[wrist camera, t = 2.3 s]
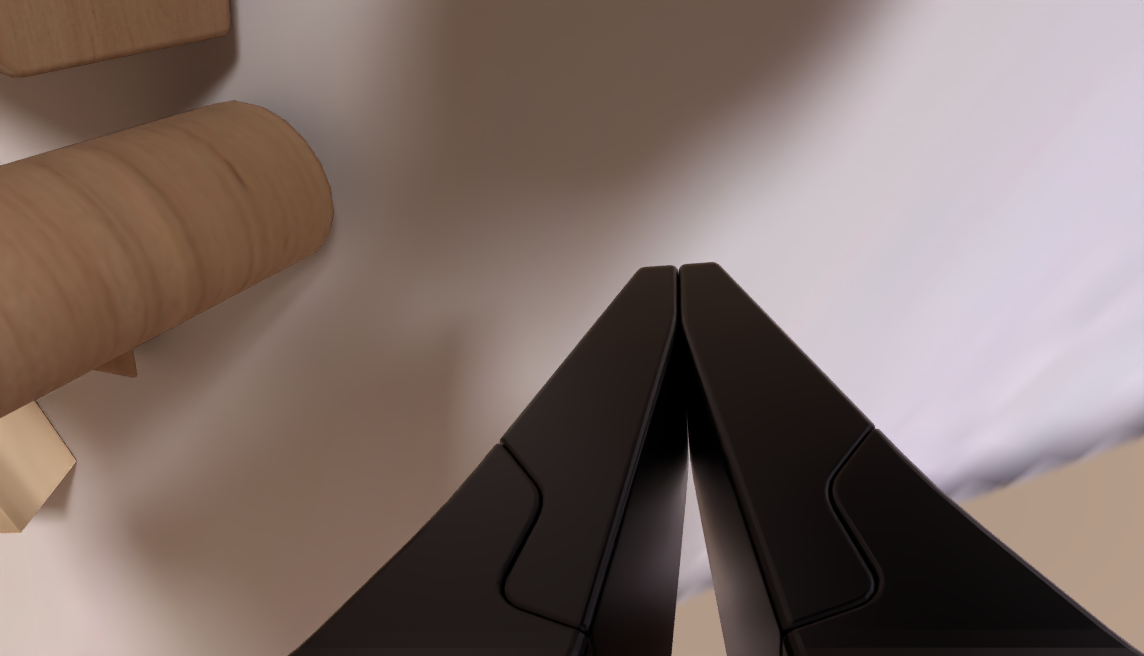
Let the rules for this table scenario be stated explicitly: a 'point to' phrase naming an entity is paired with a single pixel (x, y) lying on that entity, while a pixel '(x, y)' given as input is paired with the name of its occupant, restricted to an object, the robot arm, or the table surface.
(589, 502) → the robot arm
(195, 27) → the wooden block set
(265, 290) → the table surface
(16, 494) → the maple stop rail
